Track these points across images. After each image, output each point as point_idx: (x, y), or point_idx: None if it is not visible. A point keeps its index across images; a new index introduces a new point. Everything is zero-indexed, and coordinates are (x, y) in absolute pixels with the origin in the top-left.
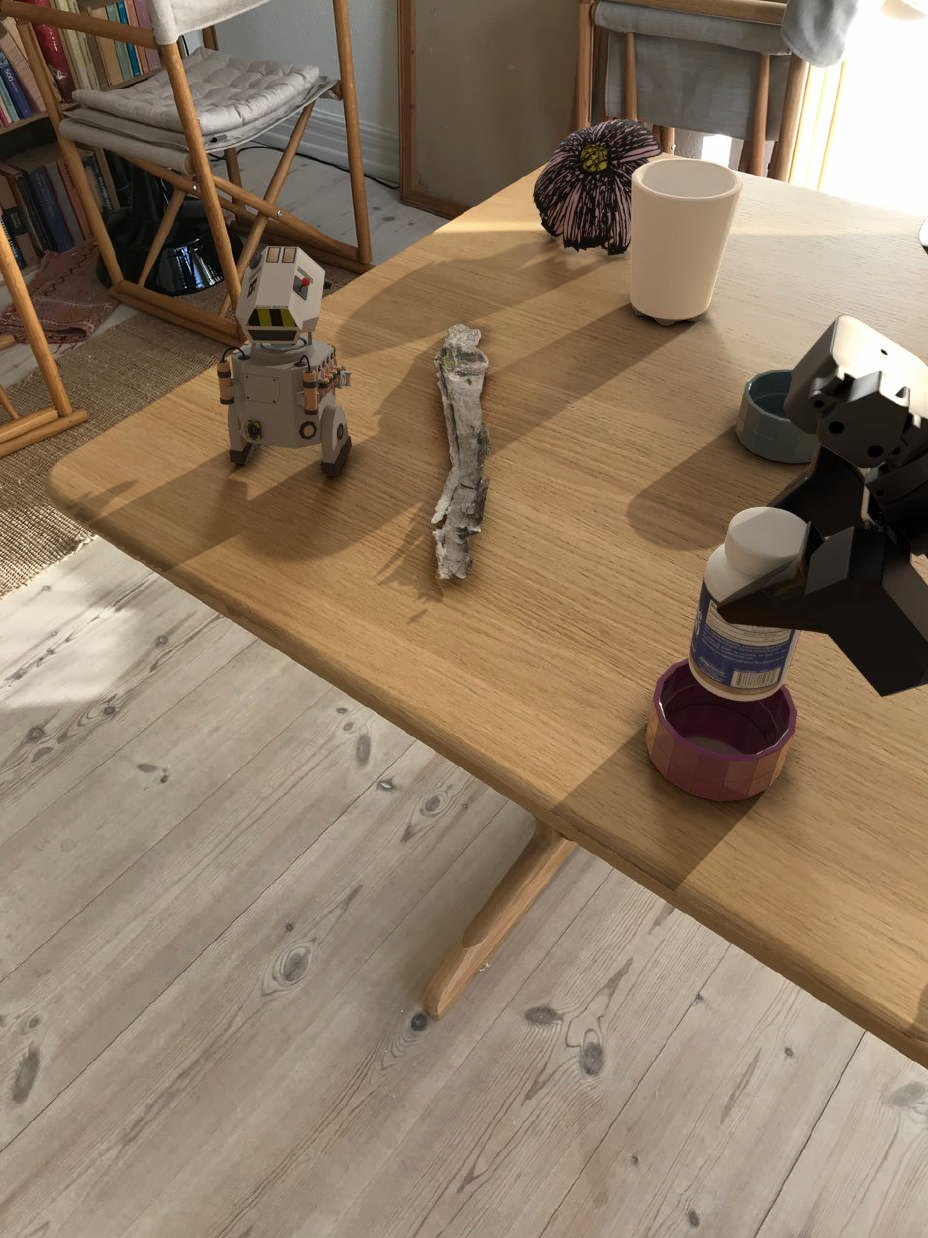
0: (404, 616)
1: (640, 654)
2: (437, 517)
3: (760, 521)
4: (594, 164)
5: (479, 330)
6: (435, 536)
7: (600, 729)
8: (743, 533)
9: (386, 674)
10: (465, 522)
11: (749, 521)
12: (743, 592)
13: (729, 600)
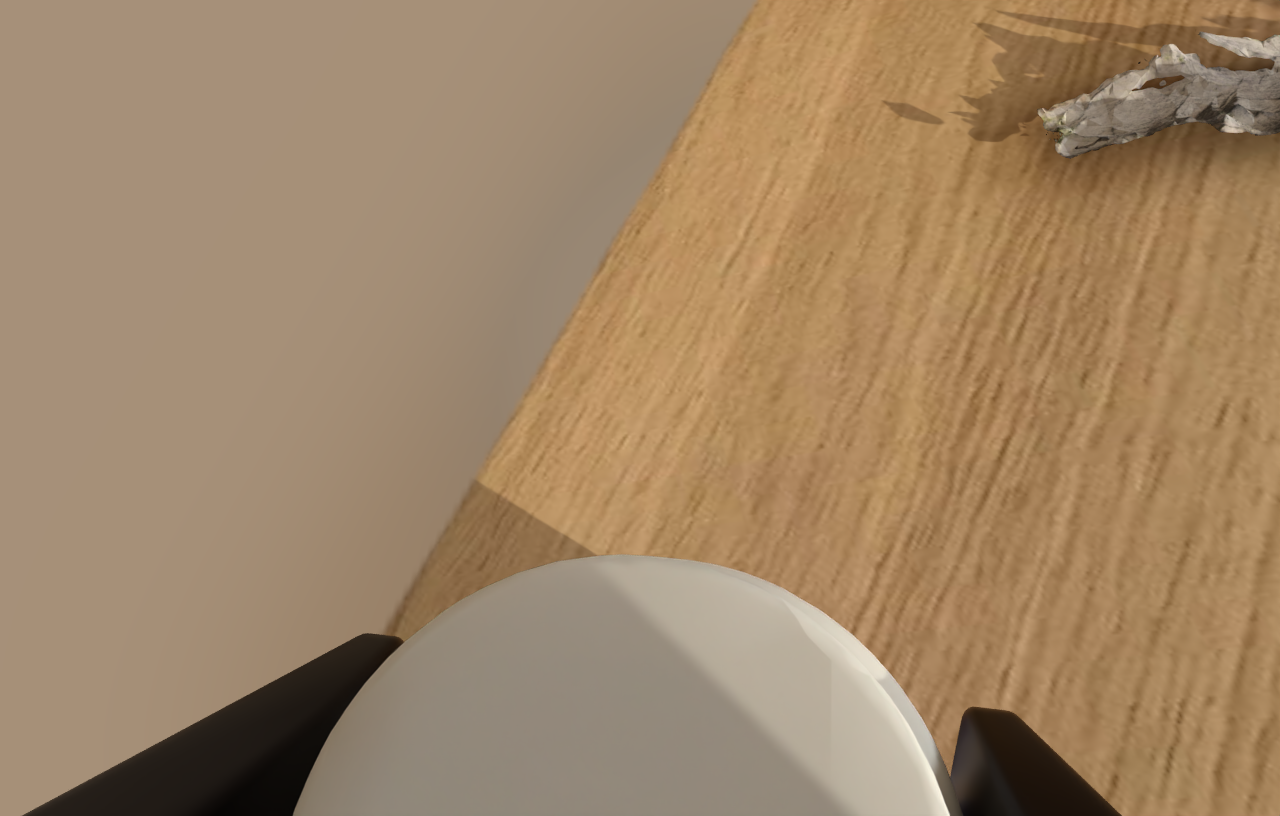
0: (903, 91)
1: (972, 599)
2: (1241, 45)
3: (719, 799)
4: None
5: None
6: (1161, 55)
7: (691, 534)
8: (542, 660)
9: (732, 108)
10: (1265, 108)
11: (711, 705)
12: (223, 729)
13: (306, 674)
